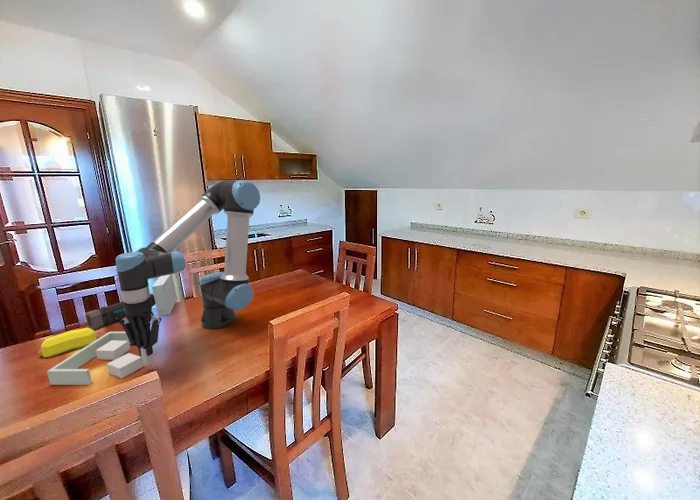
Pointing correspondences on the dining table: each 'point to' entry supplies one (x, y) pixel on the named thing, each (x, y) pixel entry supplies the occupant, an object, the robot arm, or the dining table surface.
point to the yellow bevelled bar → (67, 342)
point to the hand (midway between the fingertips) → (148, 363)
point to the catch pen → (81, 362)
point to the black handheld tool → (108, 314)
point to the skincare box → (164, 294)
